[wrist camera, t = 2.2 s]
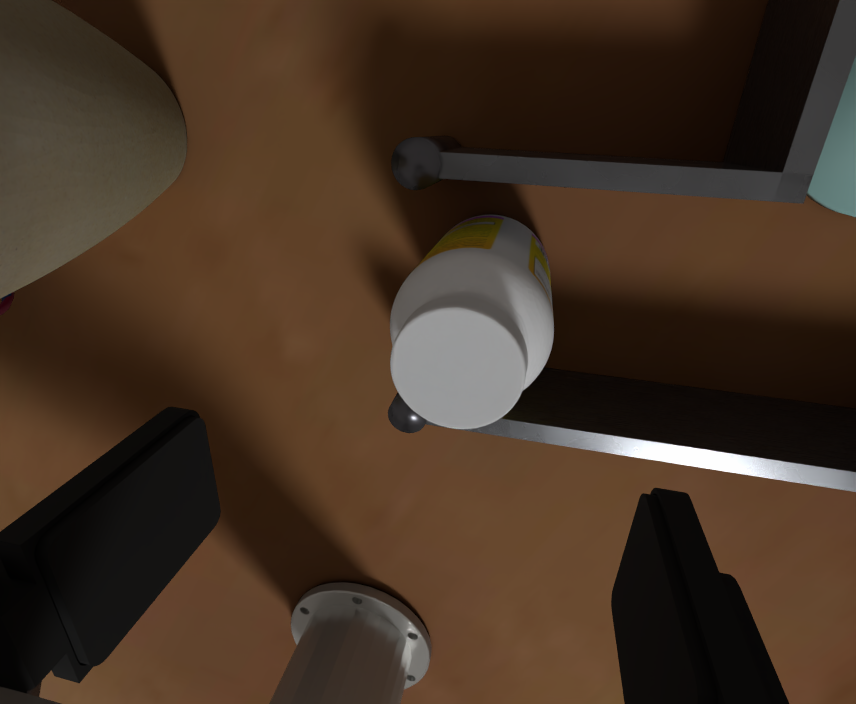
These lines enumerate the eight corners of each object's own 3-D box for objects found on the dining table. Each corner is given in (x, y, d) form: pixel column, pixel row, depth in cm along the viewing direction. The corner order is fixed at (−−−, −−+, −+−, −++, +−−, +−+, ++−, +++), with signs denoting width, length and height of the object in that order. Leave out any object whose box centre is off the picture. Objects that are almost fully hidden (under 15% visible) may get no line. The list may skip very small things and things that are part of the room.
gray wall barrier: (916, 441, 27) (1025, 532, 21) (417, 372, 32) (387, 429, 25) (1172, -17, 18) (1488, -91, 12) (433, -17, 23) (394, -70, 17)
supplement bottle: (412, 287, 29) (330, 388, 18) (471, 188, 26) (417, 233, 15) (507, 347, 30) (484, 483, 18) (575, 255, 27) (600, 350, 15)
